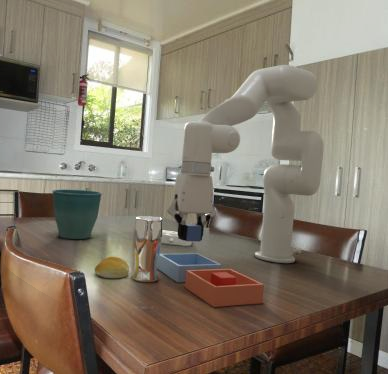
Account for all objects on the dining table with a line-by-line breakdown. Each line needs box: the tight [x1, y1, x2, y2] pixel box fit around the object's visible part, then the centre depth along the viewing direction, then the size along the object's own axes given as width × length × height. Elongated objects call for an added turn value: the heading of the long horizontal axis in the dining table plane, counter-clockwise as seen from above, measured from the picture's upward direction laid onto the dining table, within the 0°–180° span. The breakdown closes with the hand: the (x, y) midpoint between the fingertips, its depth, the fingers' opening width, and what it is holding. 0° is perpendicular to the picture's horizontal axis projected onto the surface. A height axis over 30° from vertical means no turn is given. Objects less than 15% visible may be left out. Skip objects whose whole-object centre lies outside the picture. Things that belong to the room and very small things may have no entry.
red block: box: [210, 272, 236, 286], centre depth 82 cm, size 4×4×4 cm
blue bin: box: [157, 252, 223, 283], centre depth 97 cm, size 12×12×4 cm
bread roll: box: [94, 256, 130, 279], centre depth 93 cm, size 8×9×4 cm
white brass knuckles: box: [161, 229, 193, 247], centre depth 142 cm, size 3×18×15 cm
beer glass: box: [132, 215, 163, 283], centre depth 91 cm, size 7×7×15 cm
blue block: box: [185, 223, 202, 242], centre depth 97 cm, size 4×4×4 cm
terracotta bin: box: [184, 268, 265, 308], centre depth 83 cm, size 12×12×4 cm
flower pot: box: [51, 189, 103, 240], centre depth 137 cm, size 18×18×17 cm
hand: (190, 238), depth 97 cm, fingers closed on blue block, 4 cm apart
